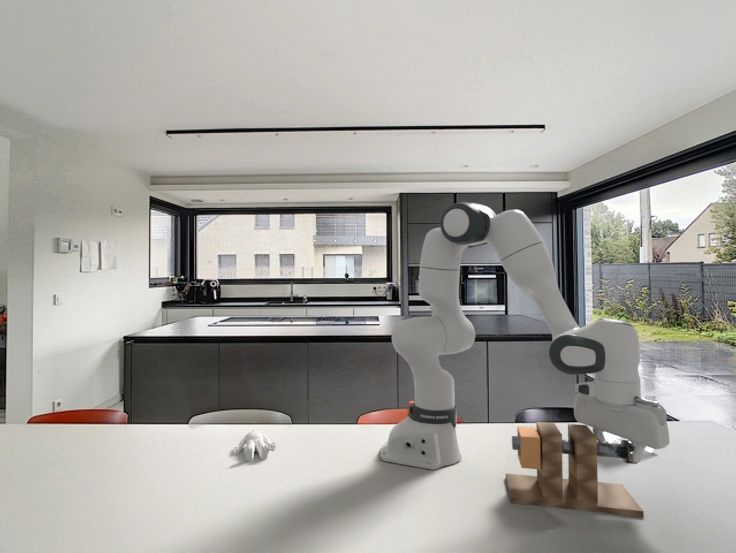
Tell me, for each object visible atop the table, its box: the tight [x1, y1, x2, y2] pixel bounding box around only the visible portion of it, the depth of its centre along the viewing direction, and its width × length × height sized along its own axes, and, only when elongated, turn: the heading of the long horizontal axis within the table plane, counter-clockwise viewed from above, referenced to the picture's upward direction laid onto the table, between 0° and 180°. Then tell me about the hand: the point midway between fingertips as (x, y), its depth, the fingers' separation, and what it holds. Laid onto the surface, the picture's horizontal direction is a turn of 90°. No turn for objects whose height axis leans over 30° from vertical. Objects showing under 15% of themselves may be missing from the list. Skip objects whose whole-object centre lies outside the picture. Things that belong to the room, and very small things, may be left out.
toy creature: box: [233, 429, 278, 463], centre depth 120 cm, size 12×6×12 cm
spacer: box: [516, 426, 541, 470], centre depth 97 cm, size 4×7×7 cm, turn 167°
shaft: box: [511, 435, 638, 465], centre depth 95 cm, size 26×5×5 cm, turn 77°
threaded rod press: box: [505, 421, 645, 518], centre depth 95 cm, size 26×12×15 cm, turn 77°
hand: (618, 454), depth 93 cm, fingers open, 6 cm apart
